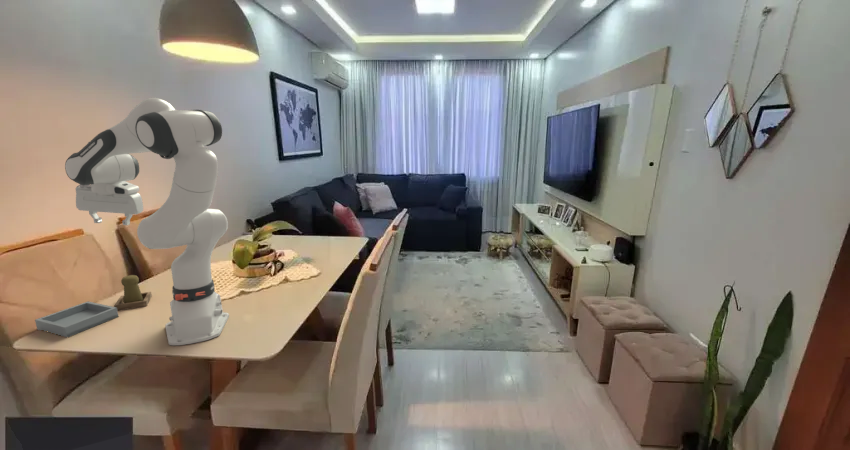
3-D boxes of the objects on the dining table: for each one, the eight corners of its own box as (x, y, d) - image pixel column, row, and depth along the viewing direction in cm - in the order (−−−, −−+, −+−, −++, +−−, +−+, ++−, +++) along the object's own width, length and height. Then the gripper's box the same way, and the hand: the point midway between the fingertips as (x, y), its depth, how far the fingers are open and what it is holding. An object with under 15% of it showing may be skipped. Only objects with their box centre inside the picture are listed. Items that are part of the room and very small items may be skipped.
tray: (118, 316, 131) (116, 307, 130) (67, 337, 117) (65, 327, 116) (89, 310, 135) (88, 301, 135) (37, 329, 122) (34, 319, 121)
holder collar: (146, 306, 139) (146, 301, 139) (114, 310, 135) (113, 305, 135) (151, 296, 148) (151, 291, 147) (121, 300, 144) (120, 295, 143)
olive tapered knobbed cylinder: (133, 307, 138) (128, 279, 136) (119, 305, 139) (114, 278, 137) (147, 300, 144) (143, 274, 141) (135, 299, 145) (130, 272, 142)
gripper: (67, 185, 126) (73, 224, 130) (132, 190, 129) (136, 228, 133) (82, 182, 132) (87, 219, 136) (144, 187, 135) (147, 223, 139)
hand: (112, 223), depth 134 cm, fingers open, 8 cm apart
